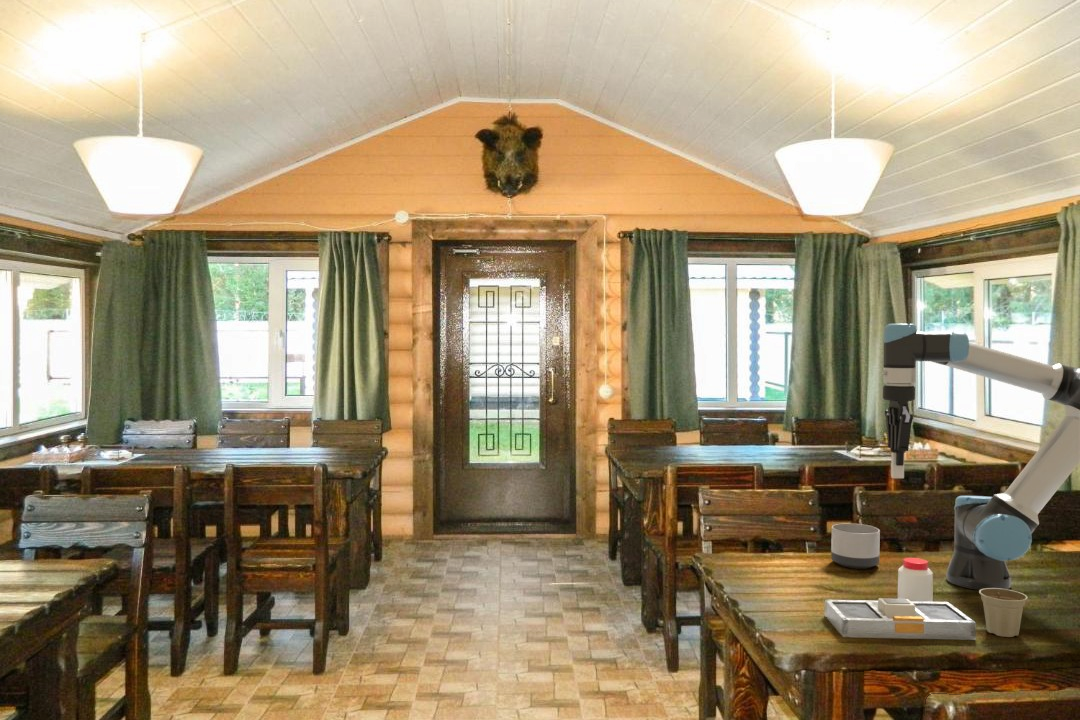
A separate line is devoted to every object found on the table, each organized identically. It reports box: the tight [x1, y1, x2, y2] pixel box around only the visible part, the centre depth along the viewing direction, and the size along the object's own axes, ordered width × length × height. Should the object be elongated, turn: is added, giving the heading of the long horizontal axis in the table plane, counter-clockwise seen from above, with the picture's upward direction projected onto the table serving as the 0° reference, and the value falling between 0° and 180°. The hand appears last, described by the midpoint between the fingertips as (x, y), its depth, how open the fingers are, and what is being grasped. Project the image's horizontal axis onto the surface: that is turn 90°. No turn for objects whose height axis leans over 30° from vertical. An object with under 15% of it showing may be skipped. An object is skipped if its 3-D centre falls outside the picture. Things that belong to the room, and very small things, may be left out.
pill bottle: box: [897, 557, 934, 602], centre depth 206 cm, size 8×8×11 cm
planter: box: [830, 522, 881, 570], centre depth 242 cm, size 13×13×10 cm
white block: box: [877, 597, 915, 619], centre depth 190 cm, size 6×4×5 cm
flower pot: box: [978, 588, 1028, 638], centre depth 187 cm, size 9×9×9 cm
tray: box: [824, 599, 977, 641], centre depth 190 cm, size 28×14×4 cm, turn 87°
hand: (897, 477), depth 215 cm, fingers closed
